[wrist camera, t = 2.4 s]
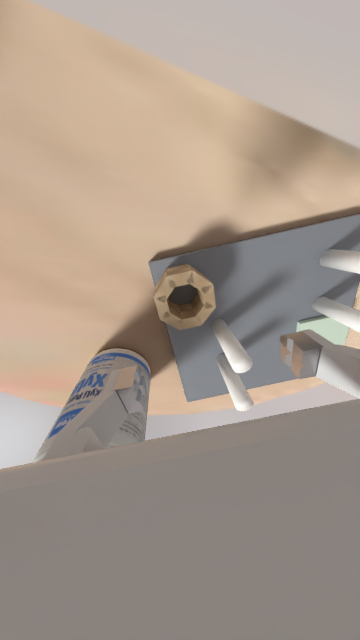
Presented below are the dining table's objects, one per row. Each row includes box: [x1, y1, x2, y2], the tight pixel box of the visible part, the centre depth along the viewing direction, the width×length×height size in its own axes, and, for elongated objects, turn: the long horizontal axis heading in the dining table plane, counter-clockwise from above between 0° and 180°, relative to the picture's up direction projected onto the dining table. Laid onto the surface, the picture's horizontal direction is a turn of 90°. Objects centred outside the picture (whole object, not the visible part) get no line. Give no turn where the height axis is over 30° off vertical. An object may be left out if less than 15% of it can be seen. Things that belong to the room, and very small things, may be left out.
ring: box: [154, 264, 216, 330], centre depth 19 cm, size 6×6×4 cm
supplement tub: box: [32, 348, 151, 463], centre depth 21 cm, size 10×10×15 cm
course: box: [149, 213, 360, 411], centre depth 21 cm, size 24×26×9 cm
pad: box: [296, 316, 349, 346], centre depth 26 cm, size 8×8×1 cm
